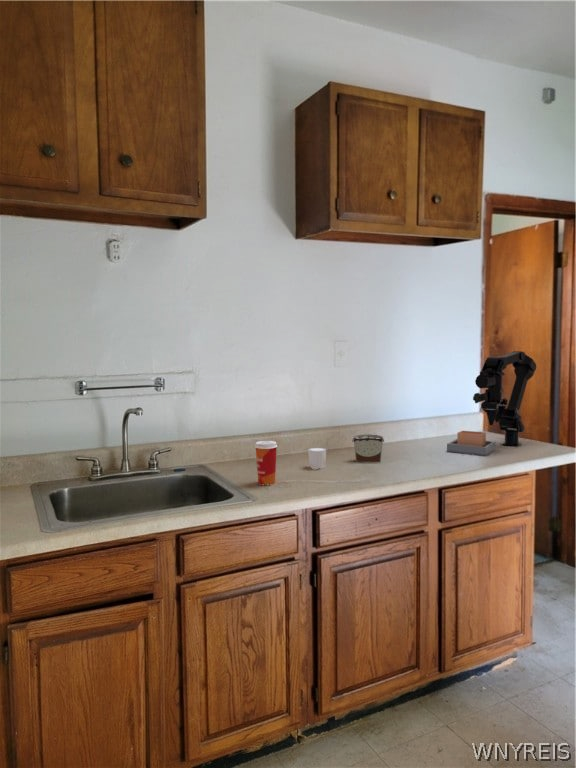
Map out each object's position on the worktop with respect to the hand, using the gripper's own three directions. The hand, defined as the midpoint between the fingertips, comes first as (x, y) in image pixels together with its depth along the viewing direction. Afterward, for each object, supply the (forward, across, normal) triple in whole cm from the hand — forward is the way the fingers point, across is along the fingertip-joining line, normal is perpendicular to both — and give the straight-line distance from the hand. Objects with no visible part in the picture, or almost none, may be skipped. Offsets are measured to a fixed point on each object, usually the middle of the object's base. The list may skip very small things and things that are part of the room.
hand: (494, 423), depth 242 cm
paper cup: (+11, +94, -50) cm, 107 cm away
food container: (+11, +46, -36) cm, 59 cm away
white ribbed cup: (+11, +66, -47) cm, 82 cm away
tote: (+10, +8, -7) cm, 15 cm away
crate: (+11, +8, -7) cm, 15 cm away
